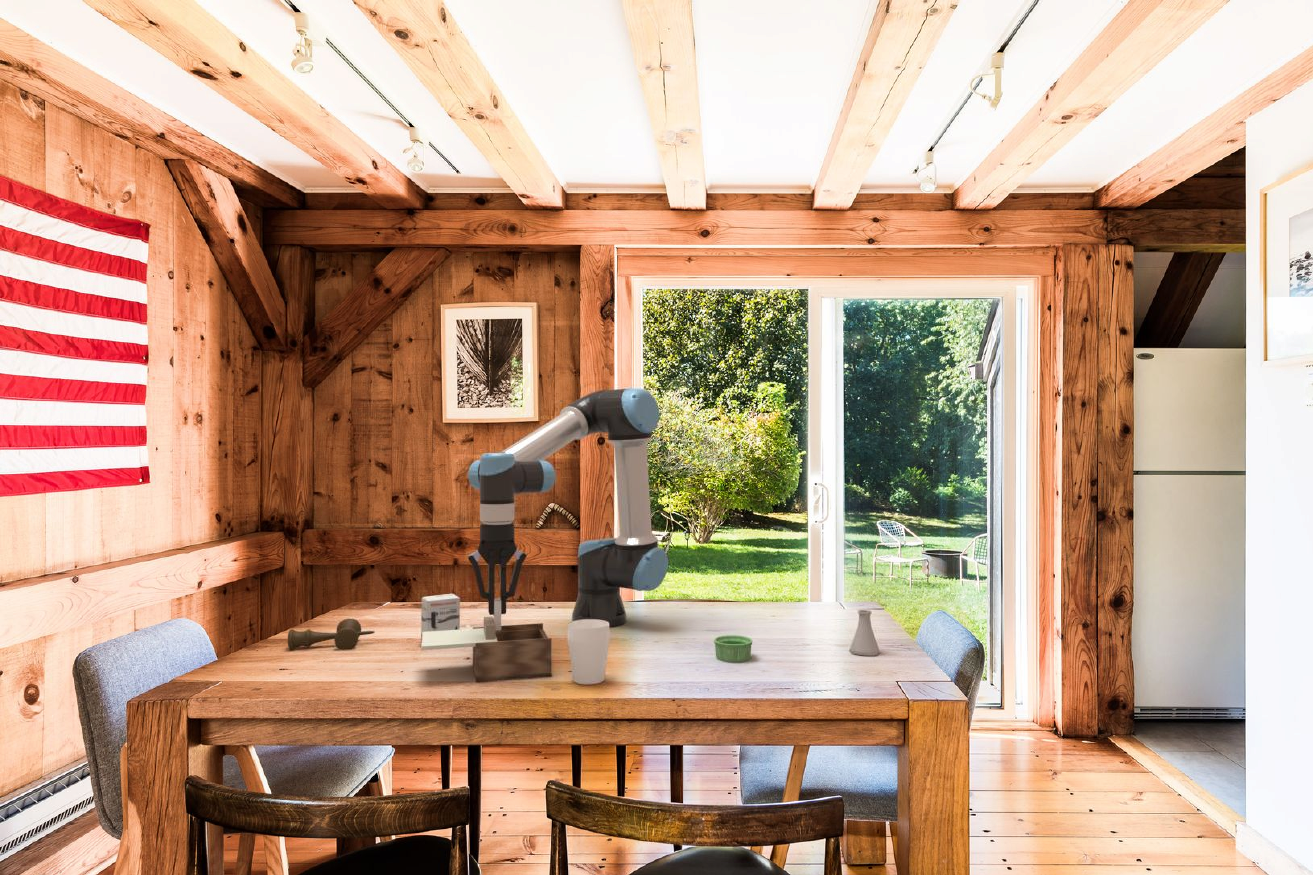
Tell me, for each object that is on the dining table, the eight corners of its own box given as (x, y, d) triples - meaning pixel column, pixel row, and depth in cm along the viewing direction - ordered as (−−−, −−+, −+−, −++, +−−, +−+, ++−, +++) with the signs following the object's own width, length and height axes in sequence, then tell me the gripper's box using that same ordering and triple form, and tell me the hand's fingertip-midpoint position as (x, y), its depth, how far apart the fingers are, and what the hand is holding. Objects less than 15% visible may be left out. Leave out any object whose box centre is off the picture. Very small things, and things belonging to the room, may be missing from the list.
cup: (567, 674, 176) (567, 619, 176) (609, 673, 177) (609, 618, 177) (566, 687, 167) (566, 629, 167) (610, 686, 168) (610, 628, 168)
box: (542, 658, 190) (542, 623, 190) (551, 676, 175) (551, 638, 175) (472, 663, 185) (472, 627, 185) (475, 682, 171) (475, 643, 171)
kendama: (291, 647, 203) (375, 638, 208) (285, 658, 194) (374, 649, 199) (290, 623, 203) (375, 615, 208) (284, 633, 193) (373, 625, 199)
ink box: (426, 648, 199) (426, 600, 199) (420, 644, 203) (420, 596, 203) (460, 643, 204) (460, 596, 204) (453, 639, 208) (453, 593, 208)
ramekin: (727, 665, 184) (727, 646, 184) (706, 656, 192) (706, 637, 192) (760, 660, 188) (760, 641, 188) (738, 651, 196) (738, 633, 196)
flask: (881, 650, 196) (881, 609, 196) (879, 658, 190) (879, 615, 190) (850, 647, 199) (850, 607, 199) (847, 655, 192) (847, 613, 192)
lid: (493, 631, 186) (493, 614, 186) (497, 645, 173) (497, 627, 173) (422, 635, 182) (422, 618, 182) (421, 650, 169) (421, 632, 169)
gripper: (525, 520, 185) (525, 623, 185) (466, 521, 181) (466, 627, 181) (528, 523, 178) (528, 631, 177) (467, 525, 174) (467, 635, 174)
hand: (497, 629), depth 179 cm, fingers closed
